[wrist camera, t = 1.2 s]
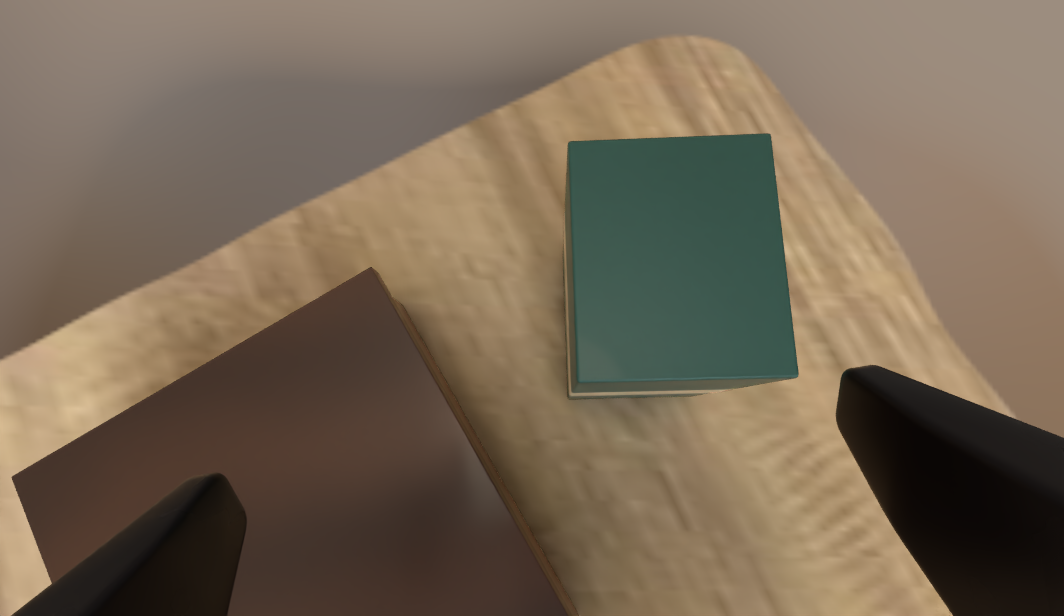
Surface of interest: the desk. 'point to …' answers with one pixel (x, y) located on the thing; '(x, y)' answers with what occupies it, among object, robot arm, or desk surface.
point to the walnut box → (314, 474)
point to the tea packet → (674, 268)
